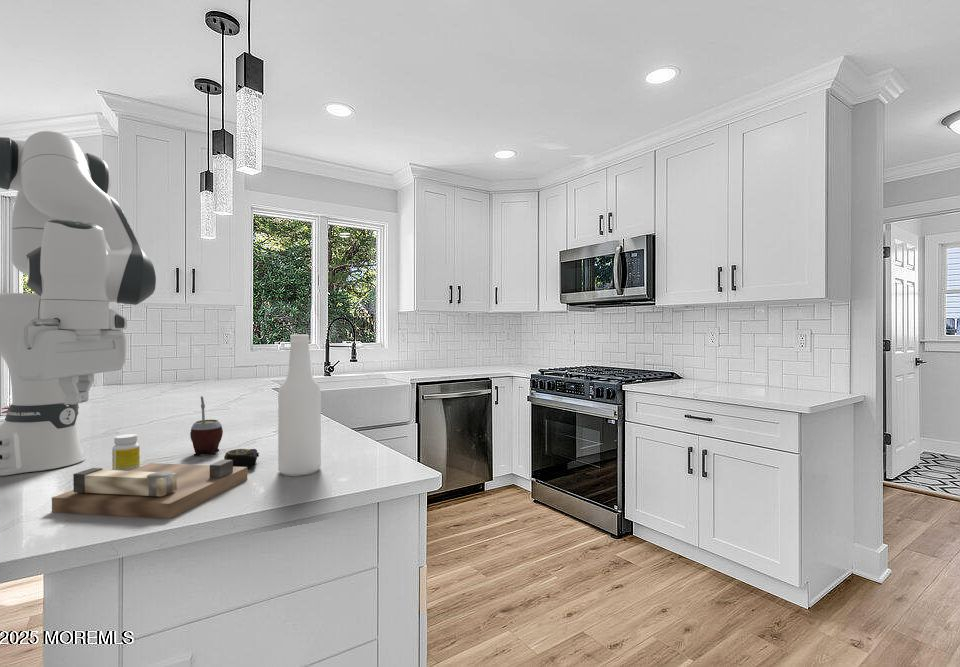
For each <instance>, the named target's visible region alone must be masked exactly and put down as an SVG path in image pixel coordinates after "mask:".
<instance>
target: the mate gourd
mask: <svg viewBox="0 0 960 667" xmlns="http://www.w3.org/2000/svg"><path fill="white" fill-rule="evenodd" d="M204 399H205V398H204V396H200V402H201V404H200V409H201V420H197V421H195V422H194V423H193V424H192V426H191V429H190V432H189V436H190V440H191V443H192V447H193V451H194V453H193V457H198V456H203V455H208V456H216V453H218V452H220V448H219V445H220V443H221V441H222V438H223V433H224V431H223V426H222V424H221V422H220V421H219V420H218V419H206V417H205V408H206V405H205V400H204Z"/></svg>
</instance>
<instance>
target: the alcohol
mask: <svg viewBox="0 0 960 667" xmlns="http://www.w3.org/2000/svg"><path fill="white" fill-rule="evenodd" d="M289 337H290V340H289V343H290V347H289V348H290V349H289V362H288V372H287V375H286V378H285V379H284V380H283V381H282V383H281V384H280V385H279V390H278V393H277V397H278V398H277V402H278V403H277V404H278V410H277V411H278V412H277V413H278V416H277V418H278V419H277V421H278V423H277V425H278V428H277V430H278V433H277V434H278V441H277V442H278V444H277V446H278V447H277V449H278V450H277V452H278V453H277V454H278V456H277V457H278V458H277V460H278V463H277V464H278V469H277V470H278V471H279V472H280V474H281V475H283V476H286V477H304V476H308V475H312V474H315V473H317V472H318V471H319V470H320V468H321V466H322V446H321V445H322V439H321V438H322V414H321V413H322V404H321V403H322V394H321V393H322V391H321V387H320V385H319V382H317V380H316V379H315V377H313V374H312V368H311V355H310V346H309V345H310V344H309V343H310V340H309V338H310V335H309V334H304V333H303V334H302V333H301V334H299V333H297V334H296V333H295V334H294V333H293V334H290V335H289Z"/></svg>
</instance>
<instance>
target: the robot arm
mask: <svg viewBox="0 0 960 667" xmlns="http://www.w3.org/2000/svg"><path fill="white" fill-rule="evenodd" d="M109 169H110V168H109V166H108V164H107V162H106V161H105V160H104V159H102V158H101V157H98V156H96V155H93V154H91V153H87V152H86V153H83V151H82V149H81V147H80V146H79V145H78V143H77V142H75V141H74V140H73V139H72V138H70V136H67V135H65V134H63V133H60V132H57V131H52V130H51V131H50V130H43V131H38V132H34V133H33V134H31V135H29V136H28V137H27V139H26V140H25V141H24V140H18V139H17V140H16V139H12V138H10V137H1V136H0V189H3V190H6V191H9V190H12V191H13V190H14V191H17V193H16V197H15V201H14V206H13V210H12V218H11V262H12V265H13V266H14V268H15V269H16V270H17V271H19V272H21V273H22V274H24V275H26V276H27V282H26V287H27V288H29V289H30V290H31V291H32V292H34V293H30V292H28V293H27V292H26V293H25V292H0V356H1V357H2V358H3V360H4V362H5V364H6V365H7V368H8V372H9V375H10V377H9V378H10V383H11V386H10V387H11V399H12V400H11V402H12V403H11V404H10V405H9V406H7V407H3V408H1V410H3V411H1V414H6V415H5V418H4V422H3V423H2V424H0V476H10V475H16V474H23V473H29V472H30V473H32V472H40V471H47V470H48V471H49V470H53V469H58V468H63V467H67V466H71V465H75V464H78V463H81V462H83V461H84V460H85V459H86V456H85V454H86V452H85V449H83V445H82V444H83V443H82V439H81V430H80V425H79V422H78V420H77V418H78V415H79V409H80V407H79V404H81V403H85V402H89V393H90V390H91V387H92V385H93V383H94V381H95V380H94V379H95V378H94V377H95V374H101V373H107V372H109V373H110V372H114V371H115V372H116V371H121V370H122V369H123V367H124V365H125V363H126V352H127V350H126V349H127V348H126V347H127V344H126V343H127V341H126V335H125V332H124V331H123V330H126V329H127V327H128V321H127V318H126V317H125V316H123V315H121V314H119V313H117V312H116V311H115V310H114V309H113V308H112V306H111V305H110V303H116V304H123V305H133V306H134V305H135V306H136V305H139V304H141V303H142V302H144V301H145V300H147V299H148V298H150V297H151V296H152V295H153V294H154V292H155V289H156V286H157V285H156V284H157V274H156V270H155V267H154V264H153V262H152V260H151V259H150V258H149V257H148V255H147V254H146V253H145V251H144V250H143V249H142V247H141V244H140V242H139V241H138V239H137V236H136V235H135V232H134V230H133V228H132V227H131V224H130V223H129V221H128V219H127V218H128V217H127V216H126V214H125V212H124V211H123V209H122V207H121V206H120V204H119V203H118V201H117V200H116V199H115V198H113V197H112V196H111V195H109V194H108V192H109V191H110V188H111V185H112V175H111V172H110V170H109ZM108 247H109V249H108Z"/></svg>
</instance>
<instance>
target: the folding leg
mask: <svg viewBox="0 0 960 667" xmlns="http://www.w3.org/2000/svg"><path fill="white" fill-rule="evenodd" d="M72 478H73V480H72V481H73V490H74V492H78V493H104V494H123V495H143V496H164V495H166V494H169V493H172V492H173V491H175V490H177V473H173V472H171V471H162V472H143V471H120V470H112V469H103V468H101V467H91V468H88V469H85V470H81V471H78V472H75V473H73V476H72Z"/></svg>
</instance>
